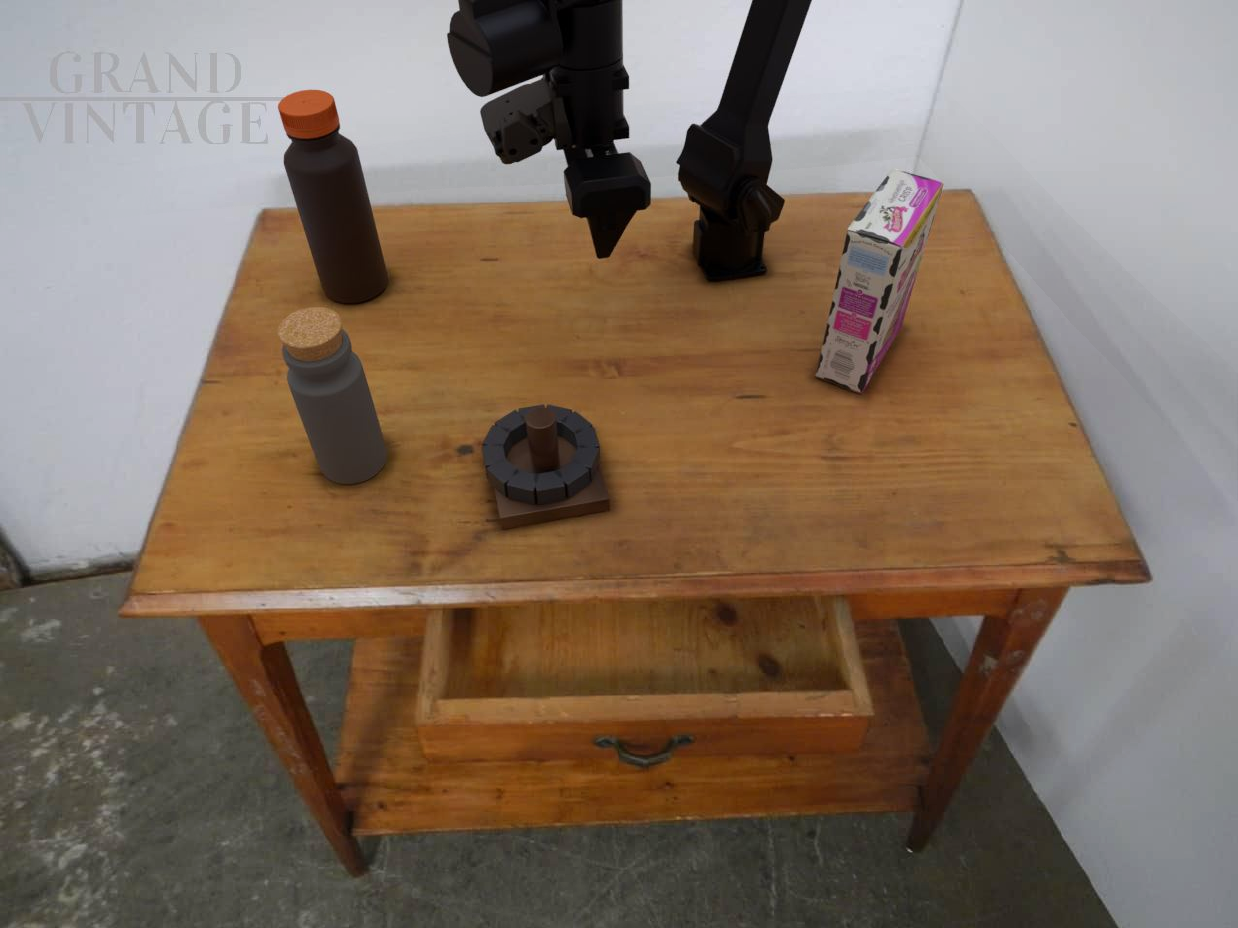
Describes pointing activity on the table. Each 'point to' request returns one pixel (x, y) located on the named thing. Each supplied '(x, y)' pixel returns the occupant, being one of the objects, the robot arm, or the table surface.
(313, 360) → the bottle
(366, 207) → the vinegar
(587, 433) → the ring
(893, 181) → the candy bar box
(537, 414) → the peg stand
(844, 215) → the table surface
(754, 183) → the robot arm
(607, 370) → the table surface
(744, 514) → the table surface
